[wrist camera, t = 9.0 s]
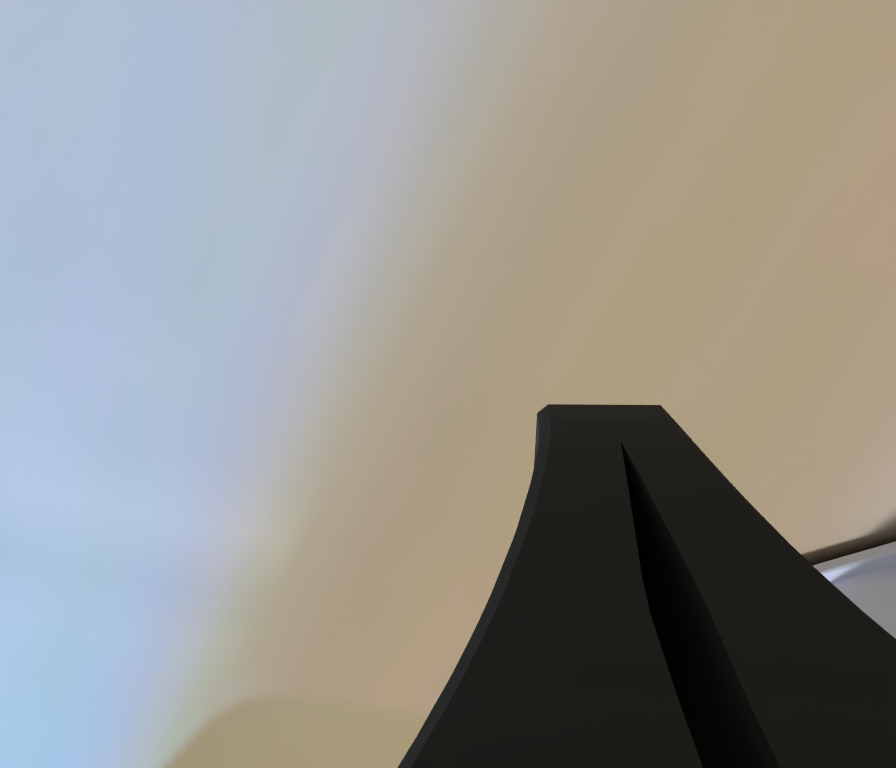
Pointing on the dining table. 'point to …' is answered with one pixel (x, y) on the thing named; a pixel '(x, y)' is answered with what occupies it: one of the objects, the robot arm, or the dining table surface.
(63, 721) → the dining table surface
